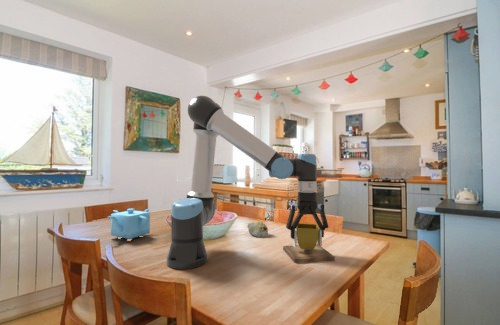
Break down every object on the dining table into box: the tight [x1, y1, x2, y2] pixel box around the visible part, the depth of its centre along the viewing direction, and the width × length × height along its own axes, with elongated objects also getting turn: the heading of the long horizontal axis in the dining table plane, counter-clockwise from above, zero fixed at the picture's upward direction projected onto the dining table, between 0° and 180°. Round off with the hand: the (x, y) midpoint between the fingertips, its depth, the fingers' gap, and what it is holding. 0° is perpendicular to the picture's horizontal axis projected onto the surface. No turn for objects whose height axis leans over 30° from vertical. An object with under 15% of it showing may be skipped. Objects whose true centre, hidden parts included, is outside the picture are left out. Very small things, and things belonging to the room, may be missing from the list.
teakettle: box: [107, 208, 151, 239], centre depth 135 cm, size 19×19×15 cm
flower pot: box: [295, 222, 320, 250], centre depth 109 cm, size 9×9×9 cm
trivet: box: [282, 244, 336, 264], centre depth 109 cm, size 16×16×2 cm
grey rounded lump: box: [247, 220, 269, 239], centre depth 139 cm, size 10×10×10 cm
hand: (307, 245), depth 109 cm, fingers closed on flower pot, 10 cm apart
